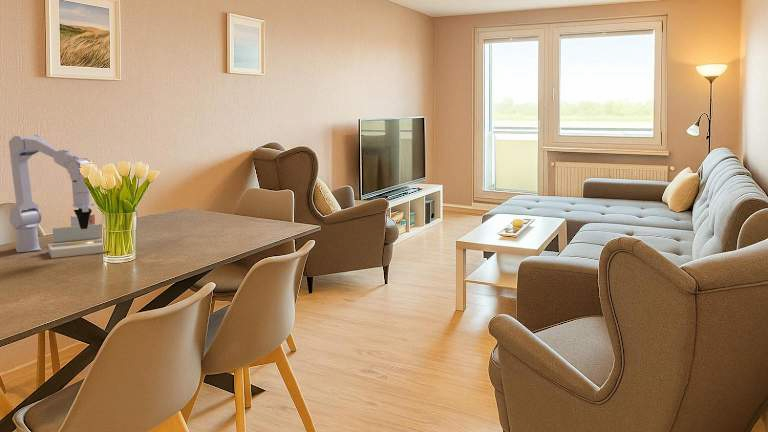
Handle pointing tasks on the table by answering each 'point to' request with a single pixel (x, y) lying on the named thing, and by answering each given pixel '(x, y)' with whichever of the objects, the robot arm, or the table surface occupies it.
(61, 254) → the white sliding drawer case
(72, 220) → the small box
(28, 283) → the table surface
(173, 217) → the table surface
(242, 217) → the table surface
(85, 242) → the yellow rounded bar
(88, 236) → the cover
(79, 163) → the robot arm
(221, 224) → the table surface
